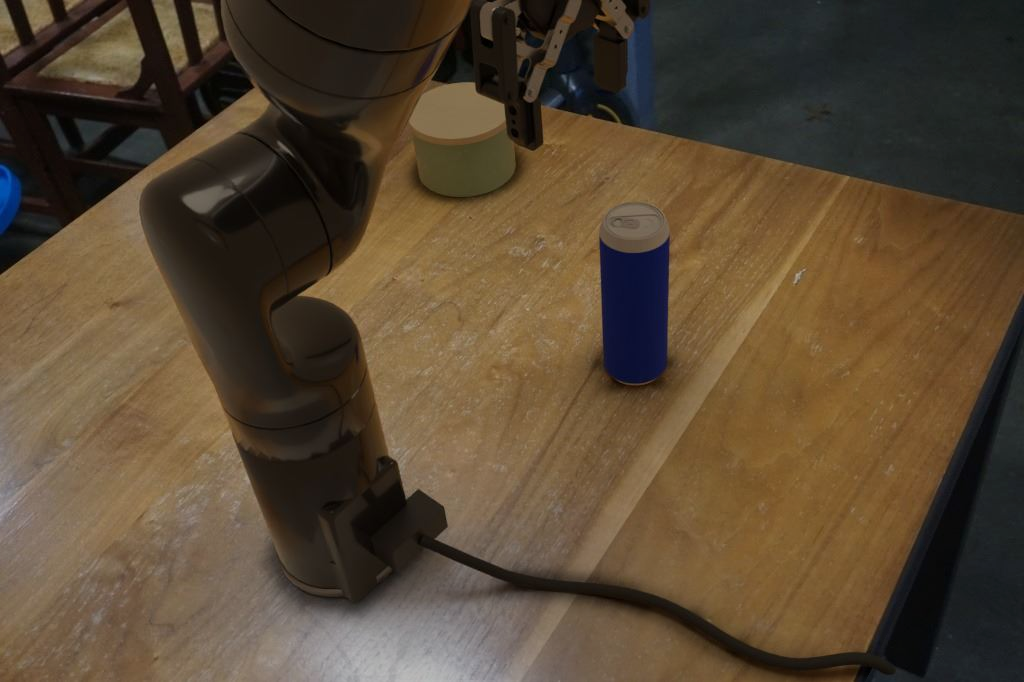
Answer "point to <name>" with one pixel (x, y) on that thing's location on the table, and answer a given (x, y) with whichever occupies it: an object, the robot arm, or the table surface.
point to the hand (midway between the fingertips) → (570, 115)
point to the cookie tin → (461, 141)
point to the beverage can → (634, 291)
